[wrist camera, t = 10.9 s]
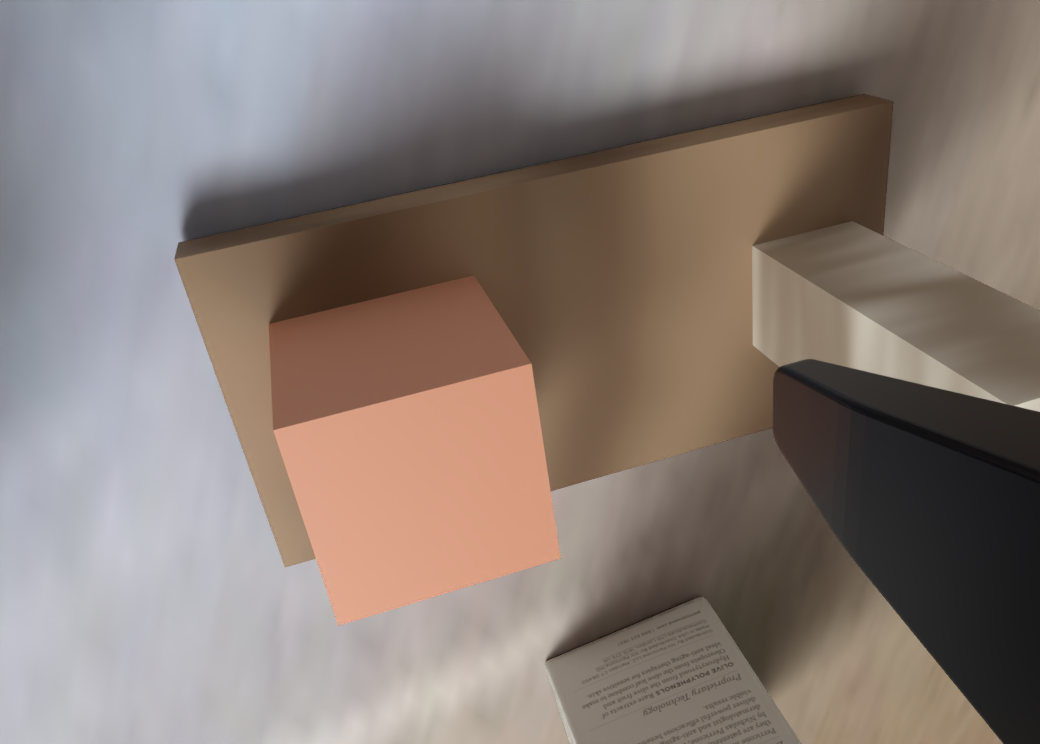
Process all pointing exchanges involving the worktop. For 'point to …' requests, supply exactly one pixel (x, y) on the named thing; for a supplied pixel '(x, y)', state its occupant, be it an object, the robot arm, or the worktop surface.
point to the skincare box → (666, 686)
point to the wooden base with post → (633, 289)
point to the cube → (412, 446)
